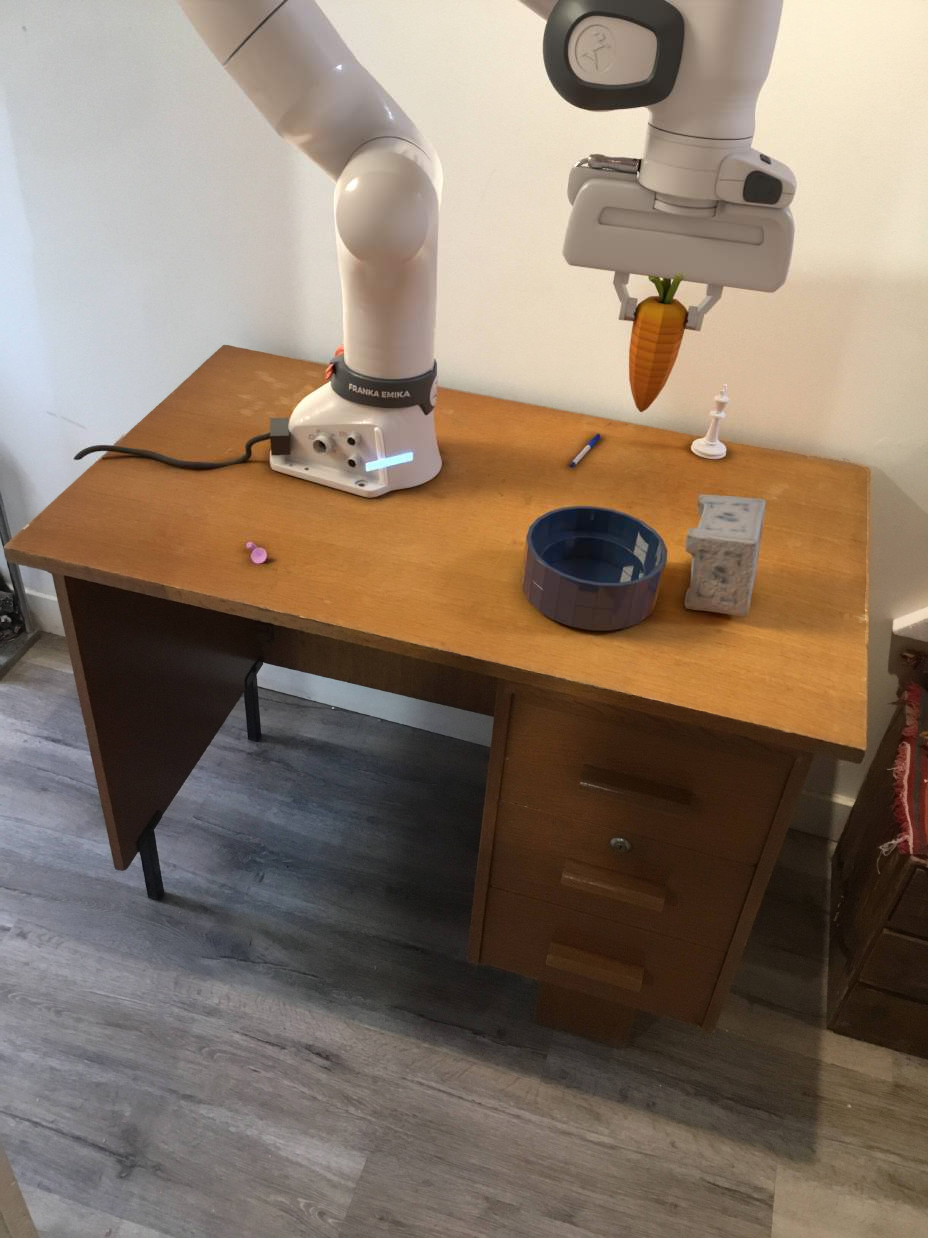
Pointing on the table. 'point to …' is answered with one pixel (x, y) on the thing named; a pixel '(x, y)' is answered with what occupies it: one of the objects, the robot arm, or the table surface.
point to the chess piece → (713, 431)
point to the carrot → (655, 341)
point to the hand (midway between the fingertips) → (659, 323)
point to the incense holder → (724, 553)
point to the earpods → (257, 553)
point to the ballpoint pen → (585, 450)
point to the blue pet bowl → (593, 567)
